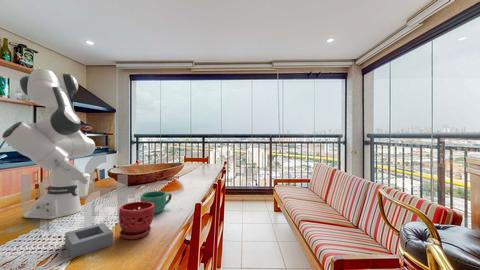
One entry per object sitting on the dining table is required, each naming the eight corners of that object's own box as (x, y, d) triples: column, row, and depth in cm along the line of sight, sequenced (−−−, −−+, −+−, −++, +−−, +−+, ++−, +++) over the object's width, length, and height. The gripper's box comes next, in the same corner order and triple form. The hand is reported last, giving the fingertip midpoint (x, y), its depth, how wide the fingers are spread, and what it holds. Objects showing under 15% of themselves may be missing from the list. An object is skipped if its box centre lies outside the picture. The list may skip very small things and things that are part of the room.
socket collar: (71, 258, 67) (72, 244, 67) (64, 244, 75) (65, 232, 75) (112, 244, 76) (113, 232, 76) (102, 233, 84) (103, 222, 84)
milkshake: (78, 194, 86) (79, 170, 87) (92, 194, 87) (92, 170, 87) (70, 197, 82) (71, 172, 82) (84, 197, 82) (85, 172, 83)
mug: (144, 218, 101) (145, 199, 101) (137, 210, 110) (137, 193, 110) (176, 210, 112) (176, 193, 112) (167, 204, 121) (167, 188, 121)
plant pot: (151, 239, 81) (152, 209, 81) (113, 243, 77) (115, 211, 77) (155, 225, 93) (156, 199, 93) (123, 228, 89) (124, 201, 89)
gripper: (66, 155, 72) (98, 179, 80) (57, 151, 86) (84, 172, 93) (49, 169, 69) (83, 192, 76) (42, 162, 82) (72, 183, 90)
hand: (84, 181), depth 85 cm, fingers closed on milkshake, 4 cm apart
